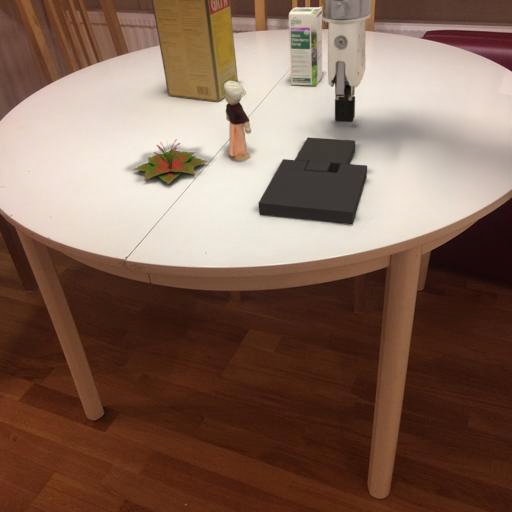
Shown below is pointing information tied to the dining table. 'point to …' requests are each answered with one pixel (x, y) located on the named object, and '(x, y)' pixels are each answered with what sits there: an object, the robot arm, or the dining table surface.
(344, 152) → the small pad
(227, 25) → the food packaging
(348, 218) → the base pad
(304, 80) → the syrup box
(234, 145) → the grandmother figurine
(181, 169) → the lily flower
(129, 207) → the dining table surface
